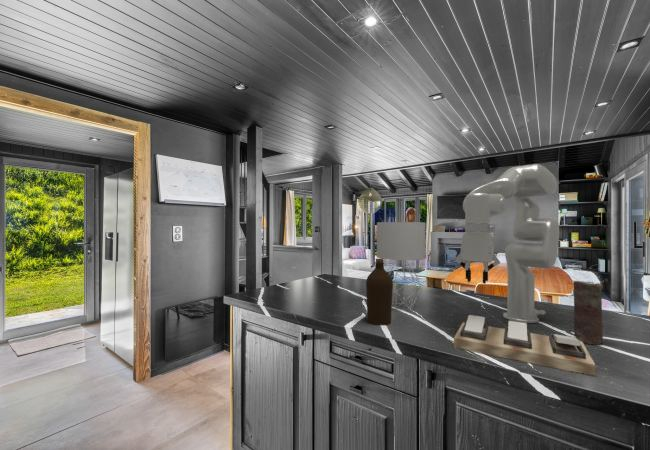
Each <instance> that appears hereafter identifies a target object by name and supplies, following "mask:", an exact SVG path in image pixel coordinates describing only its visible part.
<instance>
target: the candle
mask: <svg viewBox="0 0 650 450" xmlns="http://www.w3.org/2000/svg"><path fill="white" fill-rule="evenodd" d="M602 300H603V299H602V284H601V283H598V282H597V283H590V282H584V281H577V280H575V281H573V333H574V334H573V335H574V336H573V337H574V338H578V340H579V341H582V342H583V344H586V343H587V344H586V345H600V344H601V343H604V334H603V304H602V303H603V301H602Z"/></svg>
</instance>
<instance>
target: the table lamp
mask: <svg viewBox="0 0 650 450" xmlns="http://www.w3.org/2000/svg"><path fill="white" fill-rule="evenodd" d="M426 225H427V224H426V222H423V221H422V222H419V221H418V222H417V221H416V222H415V221H401V222H400V221H394V222H393V221H381V222H380V221H379V222H376V259H384V260H393V262H392V263H391V265H390V266H389V268H388V269H387V270H385V271H386V272H387V273H388V274H389V275H390V276H391V273H392V270H393V269H394V267H395V265H396V263H398V264H397V268H396V273H395V274H393V275H392V277H394V276H395V278H394V283H393V293H394V296H393V297H392V309H394V310H400V311H401V310H402V311H404V310H405V311H406V310H411V309H413V307H414V305H415V304H416V302H417V299H418V297H419V295H420V293H421V292H422V286H421V283H420V280H419V278H418V275H417V274H416V272H414V270H413V268H412V267H411V266H410V264H409V263H408V261H424V260H426V235H427V234H426ZM397 261H398V262H397ZM400 261H401V266H402V273H403V277H402V276H401V275H399V274H398V269H399V264H400ZM403 262H404V263H403ZM404 264H405V266H406V268H407V269H408V272H409V274H410V276H408V277H406V273H405V267H404ZM410 269H411V270H410ZM388 271H389V272H388ZM397 276H399V277H400V278H402V280H401V281H399V282H398V283H396V282H397V281H396V280H397ZM410 277H411V279H412V281H413V283H412V282H410V281H409V280H408V279H409V278H410ZM403 281H404V285H403V286H401V287H400V288H399V289H397V285H399V284H401V283H402V282H403ZM406 282H408V283H409V284H411V285H412V286H413V289H412V291H411V290H410V288H409V287H408V286H407V284H406ZM417 282H418V283H419V288H418V289H417V288H416V285H417ZM403 287H404V292H403V296H401V295H400V294H399V293H398V291H399V290H401V289H402V288H403ZM407 289H408V290H409V292H410V293H411V294H410V295H409V296H406V294H407ZM415 295H416V296H415ZM414 297H415V298H414ZM398 298H399V299H400V300H401V303H399V302H397V300H398ZM401 298H402V299H403V300H402V299H401ZM408 299H409V302H408V303H407V301H408ZM413 300H414V301H413ZM394 301H395V303H393V302H394ZM398 304H399V305H398ZM397 305H398V307H400V306H401V305H403V307H402V308H398V307H397ZM405 305H406V306H407V308H406V309H405Z"/></svg>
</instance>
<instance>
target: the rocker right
mask: <svg viewBox="0 0 650 450" xmlns="http://www.w3.org/2000/svg"><path fill="white" fill-rule="evenodd" d="M553 339H554V340H555V341H556V342H558V343H564V344H570V345H576V346H580V340H578V339H576V337H575V336H568V335H562V334H561V335H560V334H557V333H556V334H554V333H553Z"/></svg>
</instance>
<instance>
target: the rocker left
mask: <svg viewBox="0 0 650 450" xmlns="http://www.w3.org/2000/svg"><path fill="white" fill-rule="evenodd" d="M466 321H467V323H466V326H465V330H464V332H469V333H475V334H481V335H482V333H483V328H484V324H486V323H485V322H486V317H485V316H479V315H473V314H468V315H467V319H466Z"/></svg>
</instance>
